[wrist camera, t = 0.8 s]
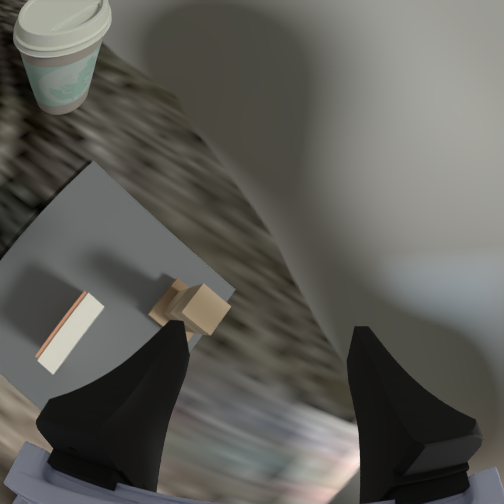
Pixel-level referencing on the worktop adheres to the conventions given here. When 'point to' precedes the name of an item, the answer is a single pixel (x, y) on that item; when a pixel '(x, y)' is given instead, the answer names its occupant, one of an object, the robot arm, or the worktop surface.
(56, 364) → the tile
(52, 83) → the coffee cup
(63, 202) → the mat
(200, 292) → the stepped wooden block
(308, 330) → the worktop surface
